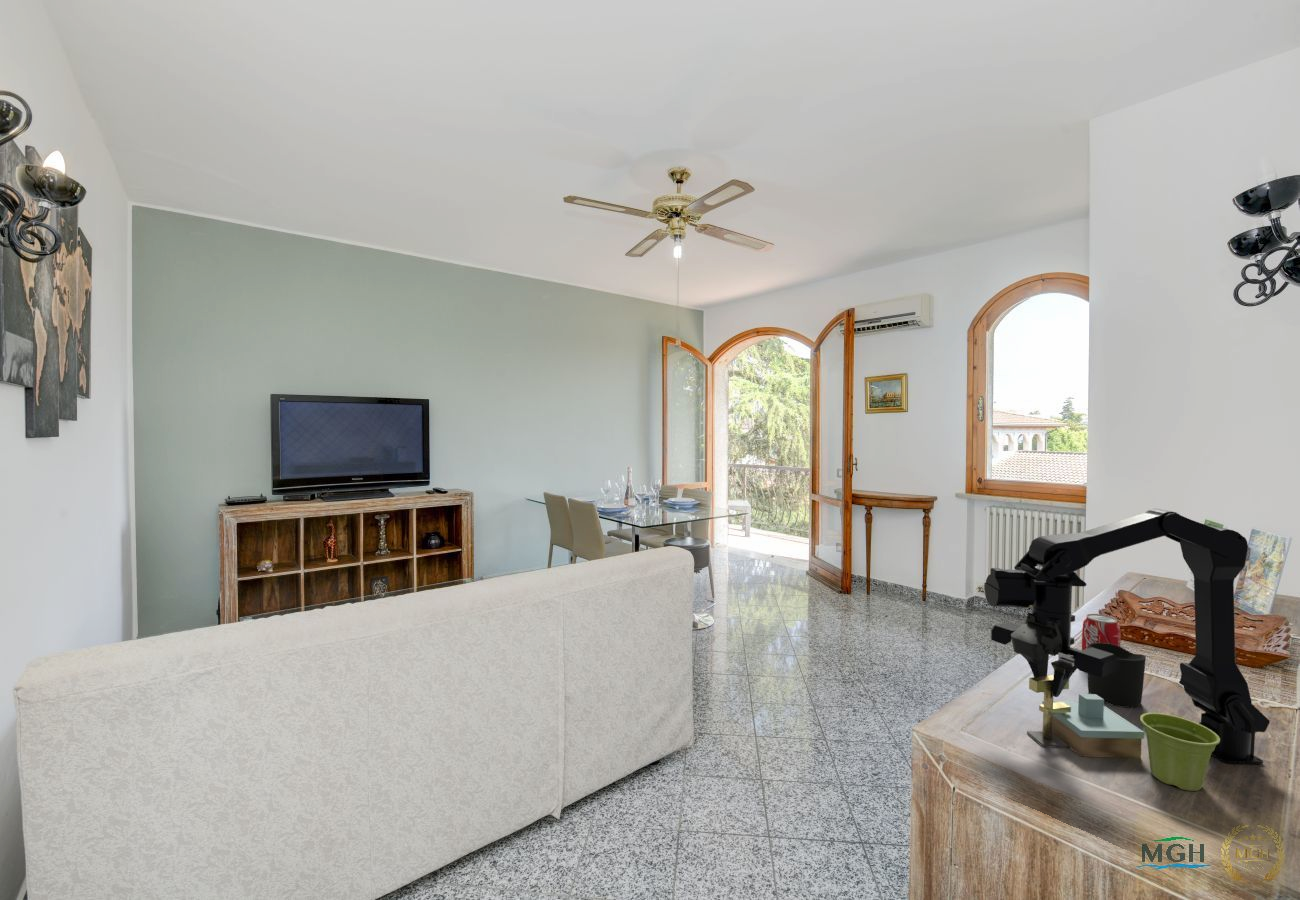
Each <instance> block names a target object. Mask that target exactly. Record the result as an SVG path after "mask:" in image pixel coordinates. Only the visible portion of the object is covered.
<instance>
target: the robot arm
mask: <svg viewBox="0 0 1300 900" xmlns="http://www.w3.org/2000/svg"><path fill="white" fill-rule="evenodd" d="M1161 537H1165V538H1167V539H1170V540H1172V541H1174V542H1177V543H1179V545H1180V549H1181V554H1182V558H1183V559H1184V562H1185V563H1186V565H1187V566H1188V569H1189V570H1190V571H1191V573H1192V575H1193V587H1194V589H1193V590H1194V593H1193V594H1194V596H1193V597H1194V598H1193V599H1194V623H1195V625H1194V626H1195V627H1194V628H1195V629H1194V630H1195V631H1194V632H1195V637H1194V638H1195V656H1194V657H1193V658H1192V659H1191V661H1189V663H1188V662H1180V664H1179V669H1180V680H1179V684H1180V685H1181V686H1183V691H1184V692H1185V694H1187V695H1188V696H1189V697H1190V698H1191V701H1192V703H1193V706H1194V707H1195V708H1198V709H1200V710H1202V711H1204V713H1203V712H1201V714H1200V715H1201V716H1200V722H1199V723H1198V724H1200V725H1203V726H1205V727H1206V728H1208V729H1210V730H1212V731H1213V732H1215V733H1216V734H1217V735H1218V736H1219V738H1220V743H1219V744H1217V745H1216V746H1215V749H1214V751H1213V752H1212V753H1211V756H1212V757H1214V758H1216V759H1218V760H1219V761H1221V762H1223V763H1226V764H1247V765H1249V764H1250V765H1251V764H1253V765H1255V764H1256V765H1263V764H1264V760H1263V759H1262V758H1260V757H1258V756H1256V755H1255V744H1256V743H1255V740H1256V733H1265V732H1266V731H1267V729H1268V727H1269V724H1270V722H1271V721H1270V720H1269V719H1268V718H1267V717H1266V716H1265V715H1264V714H1263V713H1262V711H1260V710H1259V709H1258V708H1257V707H1255V705H1254V704H1253V703H1252V697H1251V693H1250V688H1249V684H1248V682H1247V680H1246V678H1245V677H1244V675H1243V673H1242V672H1241V669H1240V668H1239V667H1238V665H1237V661H1236V632H1235V631H1236V627H1235V625H1236V624H1235V622H1236V621H1235V620H1236V619H1235V587H1234V586H1235V585H1234V584H1235V579H1236V578H1237V577H1238V575H1239V574H1240V572H1242V571H1243V570H1244V568H1245V566H1246V563H1247V562H1246V561H1247V557H1248V552H1249V551H1248V550H1249V543H1248V540H1247V538H1246V537H1245V536H1243V535H1242V534H1241V533H1239V531H1236V530H1233V529H1229V528H1225V527H1221V526H1220V527H1219V526H1216V525H1210V524H1206V523H1202V522H1199V521H1198V522H1197V520H1196V521H1195V520H1193V519H1190V518H1187V517H1185V516H1183V515H1181V514H1179V513H1178V512H1175V511H1171V510H1170V511H1169V510H1166V509H1161V508H1152V509H1149V510H1147V511H1145V512H1143V513H1140V514H1137V515H1133V516H1131V517H1127V518H1124V519H1121V520H1118V521H1114V522H1111V523H1107V524H1105V525H1101V526H1098V527H1095V528H1092V529H1089V530H1085V531H1082V532H1075V533H1057V534H1049V535H1042V536H1041V535H1040V536H1038V537H1036V538H1034V539H1033V540H1032V541H1031V544H1030V545H1029V548H1028V551H1027V552H1026V553H1025V554H1024V555H1023V556H1022V557H1021V559H1020V560H1019V561H1018V562H1017V563H1016V564H1015V565H1014V569H1006V568H1005V569H1003V568H1000V567H991V568H990V574H989V575H987V577H986V580H985V582H984V586H983V588H984V589H983V590H984V596H985V599H986V602H987V603H988V605H989V606H991V607H998V608H1019V609H1020V608H1021V609H1022V608H1023V609H1025V608H1026V609H1027V608H1029V607H1030V606H1031V608H1032V609H1031V611H1028V612H1027V616H1026V619H1025V620H1026V621H1025V623H1024V624H1018V623H1017V624H1016V623H1014V622H1012V621H1011V622H1010V621H1006V622H1002V623H998V624H994V626H992V627H991V629H990V640H991V641H992V642H993V641H994V642H996V643H999V644H1002V645H1008V644H1009V643H1011V644H1012V649H1013V652H1014V653H1015V654H1019V655H1021V656H1022V657H1023V658H1024V659H1025V660H1026V661H1027V664H1028V666H1029V667H1030V670H1031V672H1032V675H1033V677H1041V676H1048V668H1049V658H1050V656H1052V657H1056V656H1057V655H1058V656H1057V657H1058V659H1057V660H1055V661H1051V662H1050V665H1051V666H1052V668H1053V675H1054V679H1053V698H1058V697H1059V696H1060V695H1061V693H1062V691H1064V690H1063V688H1064V687H1065V685H1066V683H1067V682H1068V680H1069V681H1070V678H1071V676H1073V674H1074V673H1075V672H1076V671H1077V670H1079V671H1080V672H1083V673H1086V674H1087V675H1088V674H1091V675H1094V676H1098V677H1104V676H1106V675H1109V674H1112V673H1114V672H1117V671H1119V661H1118V659H1117V658H1116V656H1115V655H1114V654H1112V653H1109V652H1106V651H1102V650H1099V649H1096V648H1093V647H1091V648H1088V649H1085V650H1082V649H1077V648H1074V647H1071V645H1074V644H1075V638H1074V637H1071V633H1072V632H1071V631H1072V630H1071V629H1072V627H1071V626H1072V622H1073V623H1074V622H1075V621H1076V615H1075V614H1072V601H1073V599H1072V596H1073V587H1082V588H1083V587H1084V588H1085V587H1086V586H1087V583H1086V582H1085V581H1084V580H1083V579H1082V578H1081V577H1080V576H1078V574H1077V573H1076V572H1077V571H1079V570H1081V569H1083V568H1085V567H1086V566H1088V565H1089V564H1090V563H1091V562H1092V561H1093V560H1094V559H1095V558H1097V557H1100V556H1102V555H1106V554H1109V553H1112V552H1113V553H1114V552H1115V551H1119V550H1122V549H1125V548H1128V547H1132V546H1136V545H1140V544H1142V543H1145V542H1149V541H1152V540H1155V539H1158V538H1161ZM1038 567H1041V568H1040V569H1039V568H1038Z"/></svg>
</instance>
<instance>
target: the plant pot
mask: <svg viewBox="0 0 1300 900" xmlns="http://www.w3.org/2000/svg"><path fill="white" fill-rule="evenodd" d="M1139 719H1140V720H1139V721H1140V723H1141V724H1142V725H1143V731H1144V733H1145V734H1146V743H1147V748H1148V749H1147V750H1148V760H1149V769H1150V772H1151V774H1152V775H1153V777H1155V778H1156V779H1158V780H1159V781H1160V782H1163V783H1164V784H1166V785H1173V786H1176V787H1178V788H1179V789H1181V790H1184V791H1190V792H1191V791H1193V792H1196V791H1200V790H1201V789H1202V788H1203V784H1204V781H1205V776H1206V774H1207V773H1206V772H1207V770H1208V765H1209V762H1210V760H1211V756H1212V755H1211V753H1212V752H1213V751H1214V749H1215V746H1216V745H1217V744H1219V743H1220V738H1219V736H1218V735H1217V734H1216V733H1215V732H1213V731H1212V730H1210V729H1208V728H1206V727H1205V726H1203V725H1200V724H1199V723H1198V722H1195V721H1193V720H1189V719H1187V718H1183V717H1181V716H1177V715H1174V714H1173V715H1172V714H1167V713H1162V712H1161V713H1160V712H1145V713H1143V714H1141V715H1140V716H1139Z"/></svg>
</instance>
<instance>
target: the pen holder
mask: <svg viewBox="0 0 1300 900" xmlns="http://www.w3.org/2000/svg"><path fill="white" fill-rule="evenodd" d="M1091 647H1093V648H1096V649H1099V650H1102V651H1106V652H1109V653H1112V654H1114V655H1115V656H1116V658H1117V659H1118V661H1119V671H1117V672H1114V673H1112V674H1109V675H1106V676H1104V677H1098V676H1094V675H1091V674H1088V673H1087V691H1088V694H1096V695H1098V696H1099V697H1101V698H1102V699H1104V704H1108V705H1112V706H1115V707H1121V708H1137V707H1139V706H1140V705H1142V699H1143V691H1144V679H1145V670H1146V669H1145V668H1146V660H1147V659H1146V656H1145V655H1144V654H1137V653H1132V652H1131V651H1129V650H1127V649H1126V648H1124V647H1122V646H1121V645H1120V646H1117V645H1114V644H1109V643H1091V644H1088V646H1087V649H1088V648H1091Z"/></svg>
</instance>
